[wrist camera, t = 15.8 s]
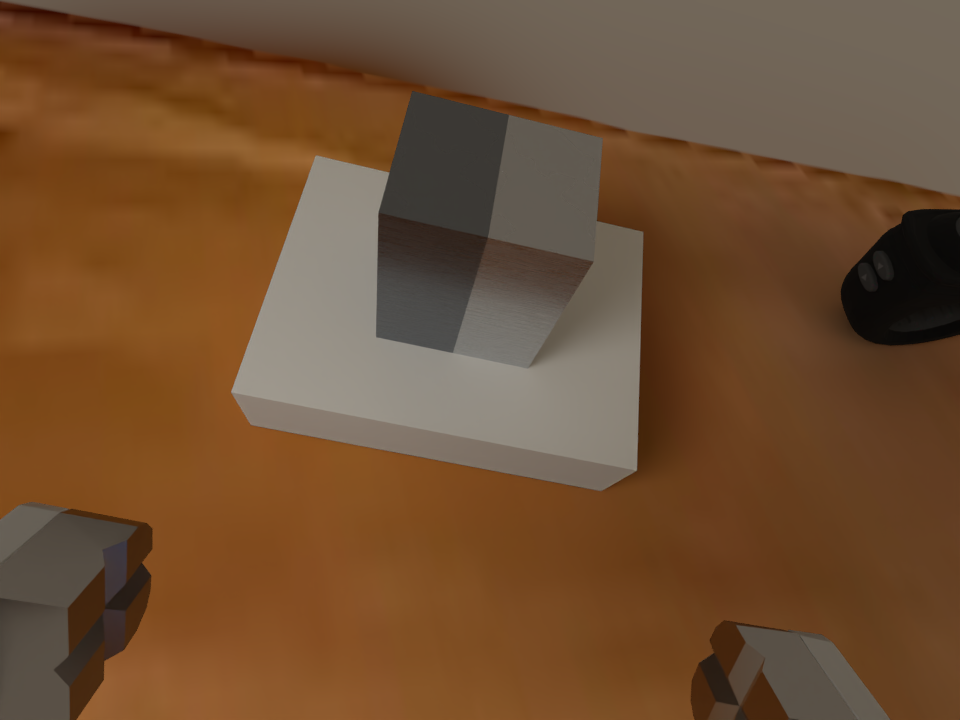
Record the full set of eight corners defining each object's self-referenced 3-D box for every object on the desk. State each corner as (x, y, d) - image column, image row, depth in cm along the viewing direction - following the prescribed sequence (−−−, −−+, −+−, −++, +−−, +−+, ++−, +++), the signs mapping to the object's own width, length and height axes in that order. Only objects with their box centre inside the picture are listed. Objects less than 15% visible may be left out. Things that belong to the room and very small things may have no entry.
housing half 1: (452, 353, 24) (488, 237, 17) (470, 254, 26) (509, 115, 19) (527, 368, 24) (593, 261, 17) (539, 270, 26) (602, 138, 19)
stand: (250, 425, 25) (231, 392, 22) (322, 210, 31) (315, 155, 27) (601, 490, 27) (637, 470, 23) (612, 275, 32) (643, 232, 28)
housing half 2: (376, 337, 24) (378, 212, 17) (400, 239, 26) (412, 91, 19) (452, 352, 24) (488, 237, 17) (470, 254, 26) (509, 115, 19)
